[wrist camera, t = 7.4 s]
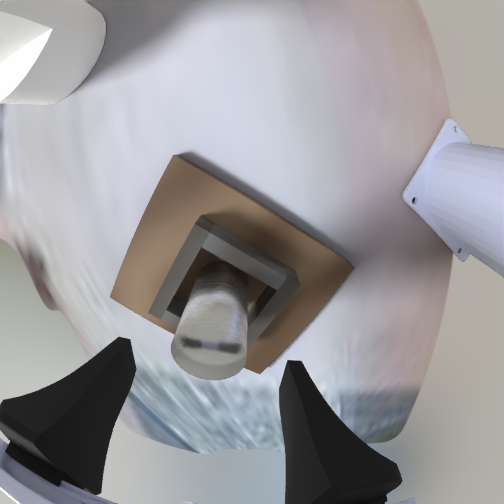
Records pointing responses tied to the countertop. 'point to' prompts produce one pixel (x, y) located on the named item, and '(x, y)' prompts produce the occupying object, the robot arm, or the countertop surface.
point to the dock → (225, 259)
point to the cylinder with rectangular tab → (47, 48)
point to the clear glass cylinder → (214, 324)
